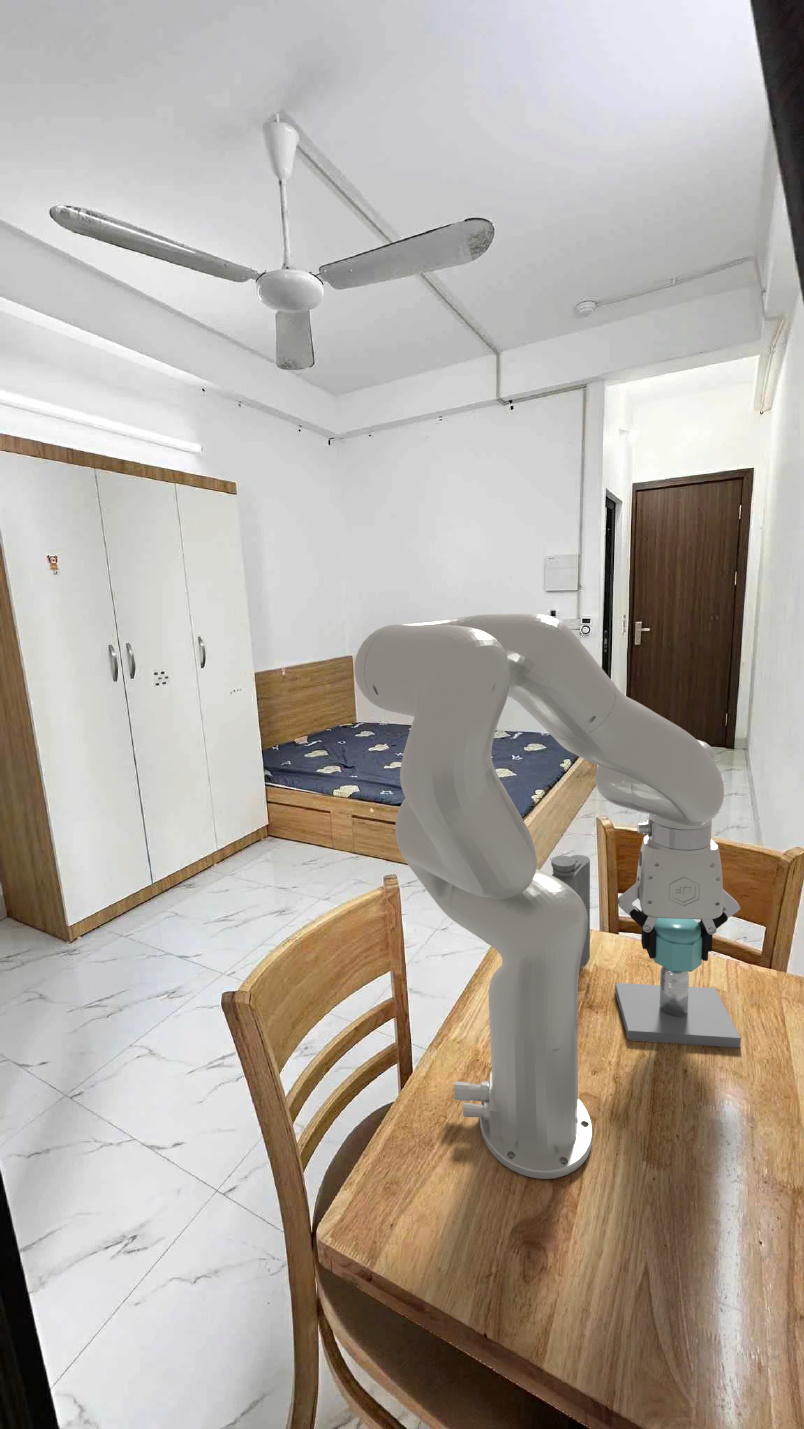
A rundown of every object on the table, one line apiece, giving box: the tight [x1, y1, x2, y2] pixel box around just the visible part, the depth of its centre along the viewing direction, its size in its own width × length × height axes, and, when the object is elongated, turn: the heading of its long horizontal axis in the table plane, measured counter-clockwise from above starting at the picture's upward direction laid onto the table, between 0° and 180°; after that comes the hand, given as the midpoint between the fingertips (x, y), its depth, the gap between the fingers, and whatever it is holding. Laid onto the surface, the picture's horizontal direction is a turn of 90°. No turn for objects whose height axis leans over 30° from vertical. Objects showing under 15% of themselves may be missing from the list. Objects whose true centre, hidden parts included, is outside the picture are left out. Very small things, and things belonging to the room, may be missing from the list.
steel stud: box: [659, 966, 690, 1017], centre depth 83 cm, size 4×4×7 cm
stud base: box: [614, 982, 742, 1049], centre depth 84 cm, size 14×10×2 cm
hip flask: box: [550, 854, 591, 971], centre depth 92 cm, size 16×4×20 cm, turn 148°
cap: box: [653, 918, 703, 973], centre depth 82 cm, size 6×6×5 cm
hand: (675, 952), depth 82 cm, fingers closed on cap, 6 cm apart
